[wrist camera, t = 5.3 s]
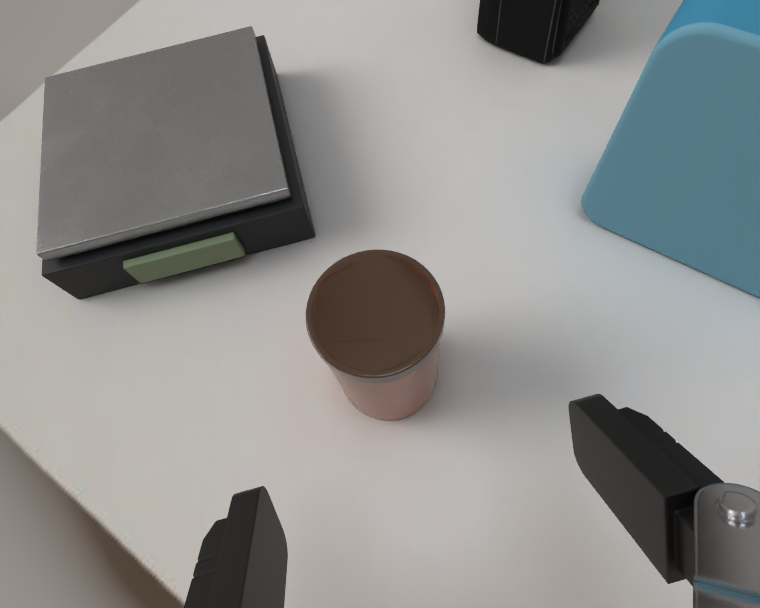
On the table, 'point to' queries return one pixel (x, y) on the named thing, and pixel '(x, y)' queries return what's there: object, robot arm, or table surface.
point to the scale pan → (156, 144)
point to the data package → (691, 146)
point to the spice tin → (379, 330)
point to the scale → (196, 229)
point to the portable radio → (533, 25)
